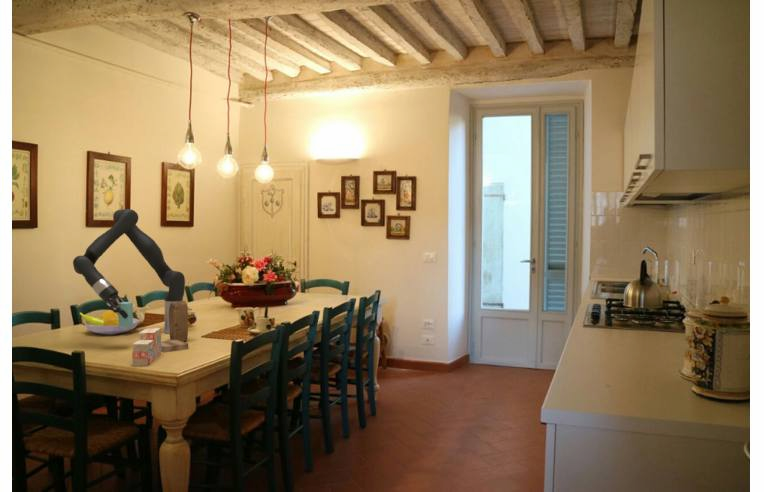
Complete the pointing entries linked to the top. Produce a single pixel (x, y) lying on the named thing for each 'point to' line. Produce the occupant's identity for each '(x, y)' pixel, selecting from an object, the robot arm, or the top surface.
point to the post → (129, 310)
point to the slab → (173, 345)
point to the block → (178, 320)
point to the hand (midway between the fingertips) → (129, 316)
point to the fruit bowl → (107, 324)
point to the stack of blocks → (147, 347)
